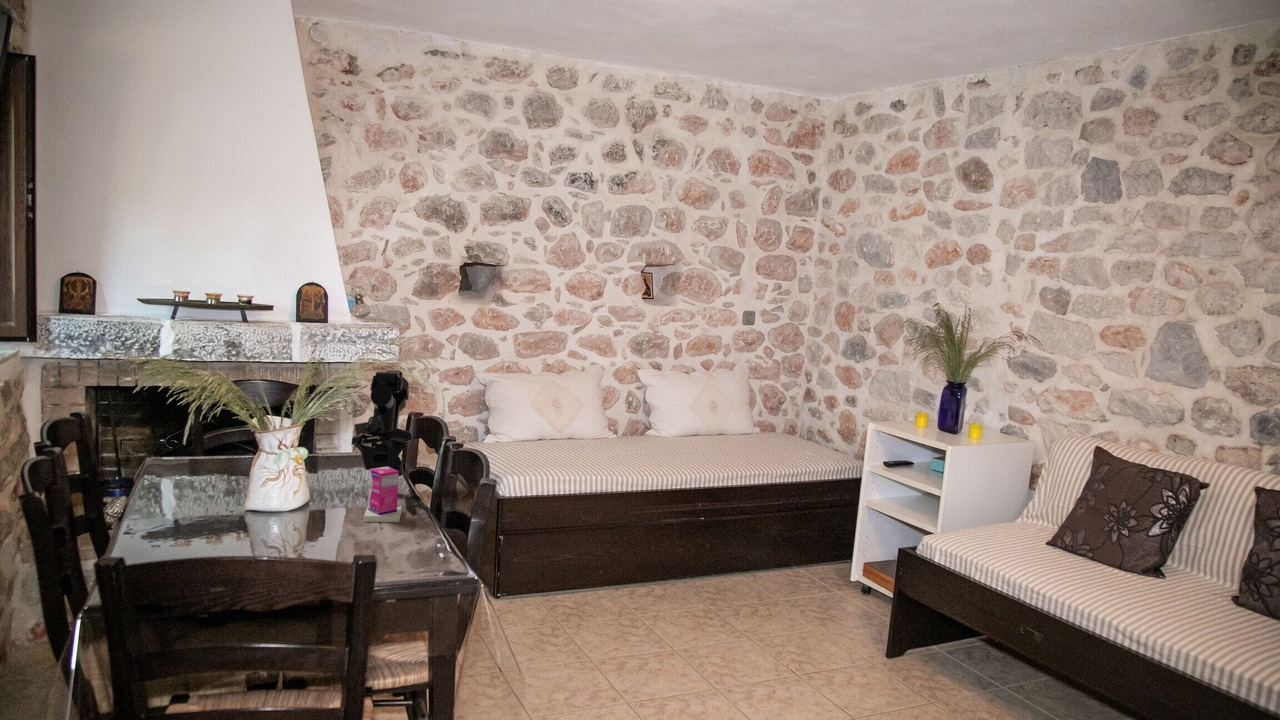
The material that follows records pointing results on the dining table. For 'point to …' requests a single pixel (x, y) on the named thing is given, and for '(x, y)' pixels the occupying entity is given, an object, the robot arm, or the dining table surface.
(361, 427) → the robot arm
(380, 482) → the supplement box
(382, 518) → the tower top block
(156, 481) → the dining table surface
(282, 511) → the dining table surface
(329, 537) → the dining table surface
